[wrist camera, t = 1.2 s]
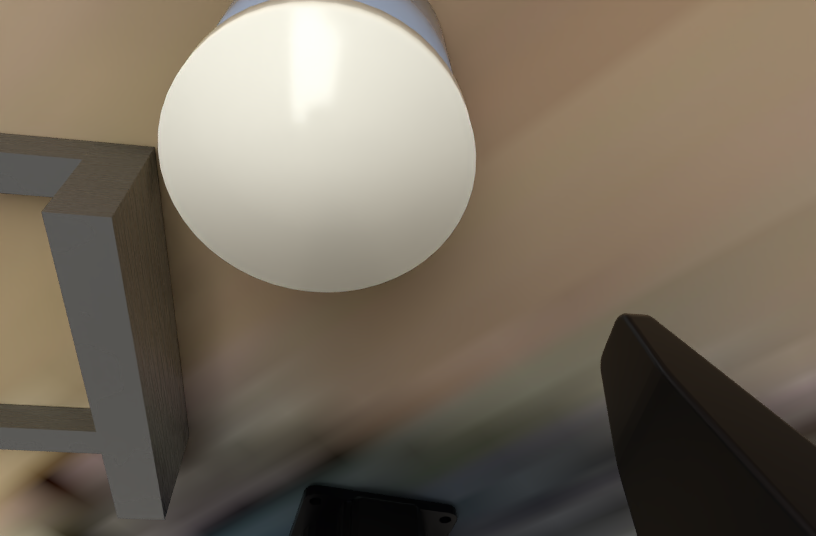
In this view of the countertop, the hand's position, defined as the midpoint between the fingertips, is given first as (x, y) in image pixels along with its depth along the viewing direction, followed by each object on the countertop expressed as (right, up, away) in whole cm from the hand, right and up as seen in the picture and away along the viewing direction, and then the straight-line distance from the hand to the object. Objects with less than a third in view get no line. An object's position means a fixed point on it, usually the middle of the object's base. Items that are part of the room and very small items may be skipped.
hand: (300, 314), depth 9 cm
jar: (0, +6, +7) cm, 9 cm away
